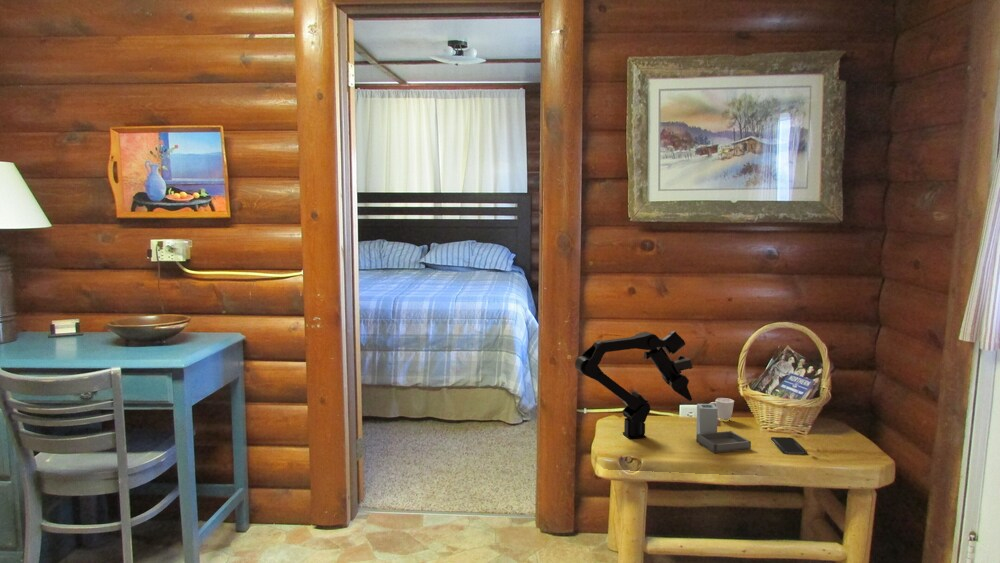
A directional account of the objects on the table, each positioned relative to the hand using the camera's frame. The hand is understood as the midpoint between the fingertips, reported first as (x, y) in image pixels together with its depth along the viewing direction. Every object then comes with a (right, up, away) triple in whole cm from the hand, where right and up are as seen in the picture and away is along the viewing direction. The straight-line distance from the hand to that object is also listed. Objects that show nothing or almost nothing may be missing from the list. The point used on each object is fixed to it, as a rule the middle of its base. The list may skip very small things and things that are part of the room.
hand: (688, 397), depth 234 cm
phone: (+31, -15, -12) cm, 37 cm away
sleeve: (+7, -14, 0) cm, 15 cm away
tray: (+9, -15, -11) cm, 20 cm away
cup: (+18, -12, +18) cm, 28 cm away
